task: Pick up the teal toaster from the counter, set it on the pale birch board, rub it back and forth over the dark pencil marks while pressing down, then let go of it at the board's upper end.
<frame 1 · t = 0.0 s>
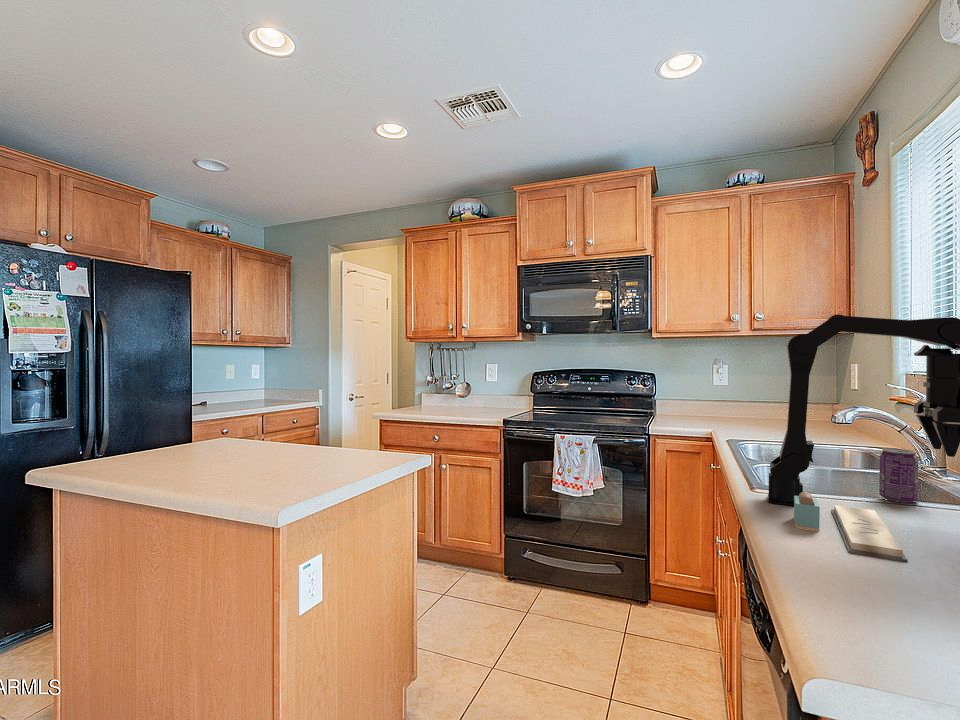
hand: (943, 452, 103), 15 cm above the countertop, tool pointing down, fingers open, 9 cm apart
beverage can: (898, 500, 119), on the countertop
teal toaster: (806, 525, 101), on the countertop
board: (863, 532, 97), on the countertop
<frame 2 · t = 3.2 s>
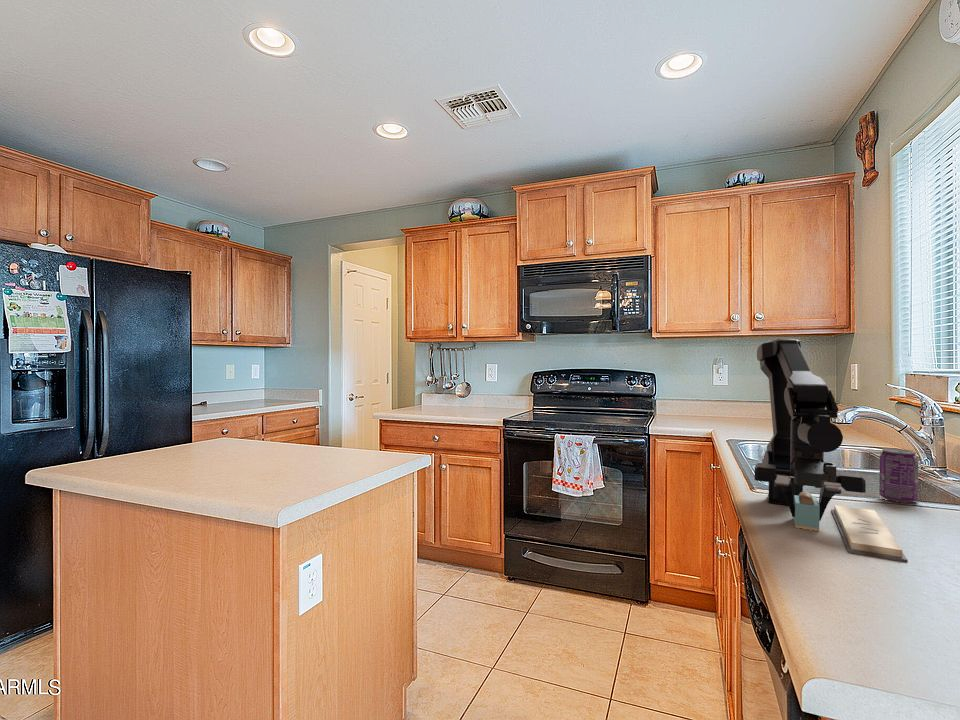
hand: (806, 518, 101), 1 cm above the countertop, tool pointing down, fingers closed on teal toaster, 4 cm apart
teal toaster: (806, 524, 101), on the countertop, touching gripper
everything else where it was.
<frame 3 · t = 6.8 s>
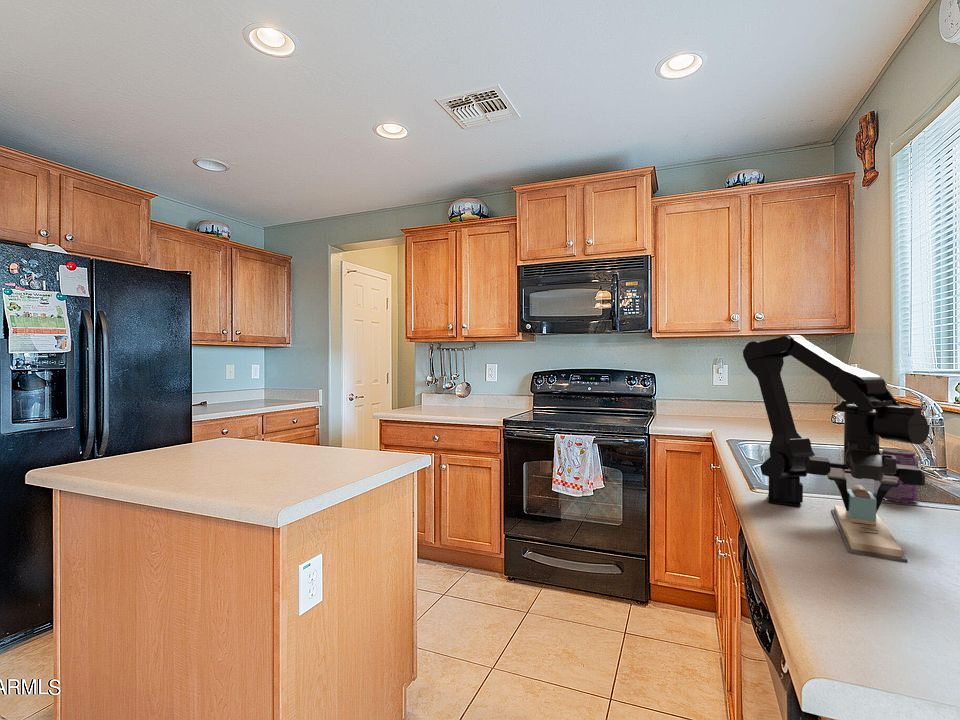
hand: (860, 512, 100), 3 cm above the countertop, tool pointing down, fingers closed on teal toaster, 4 cm apart
teal toaster: (860, 518, 100), point 2 cm above the countertop, touching gripper
everything else where it was.
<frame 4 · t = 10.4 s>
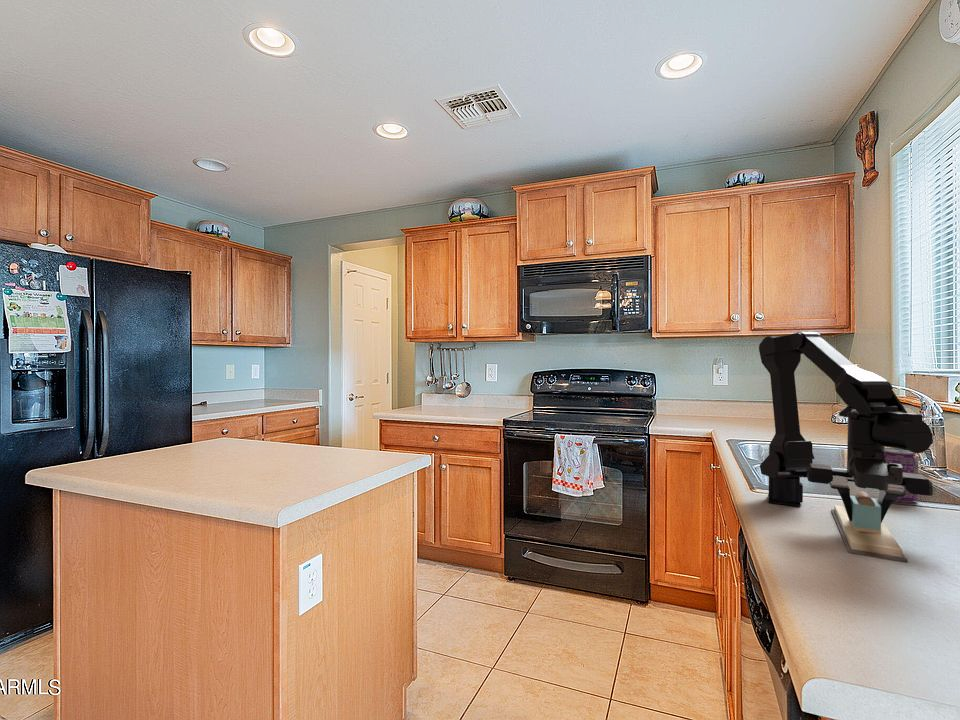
hand: (864, 522, 95), 2 cm above the countertop, tool pointing down, fingers closed on teal toaster, 4 cm apart
teal toaster: (864, 526, 95), point 2 cm above the countertop, touching gripper
everything else where it was.
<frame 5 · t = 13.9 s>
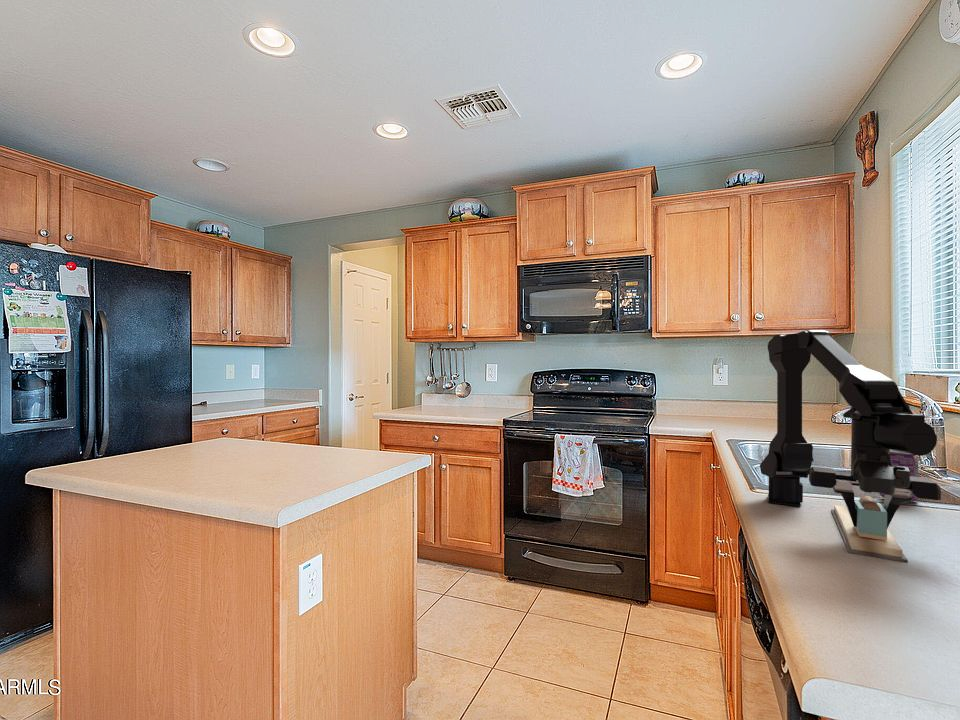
hand: (869, 528, 92), 3 cm above the countertop, tool pointing down, fingers closed on teal toaster, 4 cm apart
teal toaster: (869, 532, 92), point 2 cm above the countertop, touching gripper
everything else where it was.
when the fingers open (3 cm above the countertop, at t = 17.4 s): teal toaster stays where it is, resting on board.
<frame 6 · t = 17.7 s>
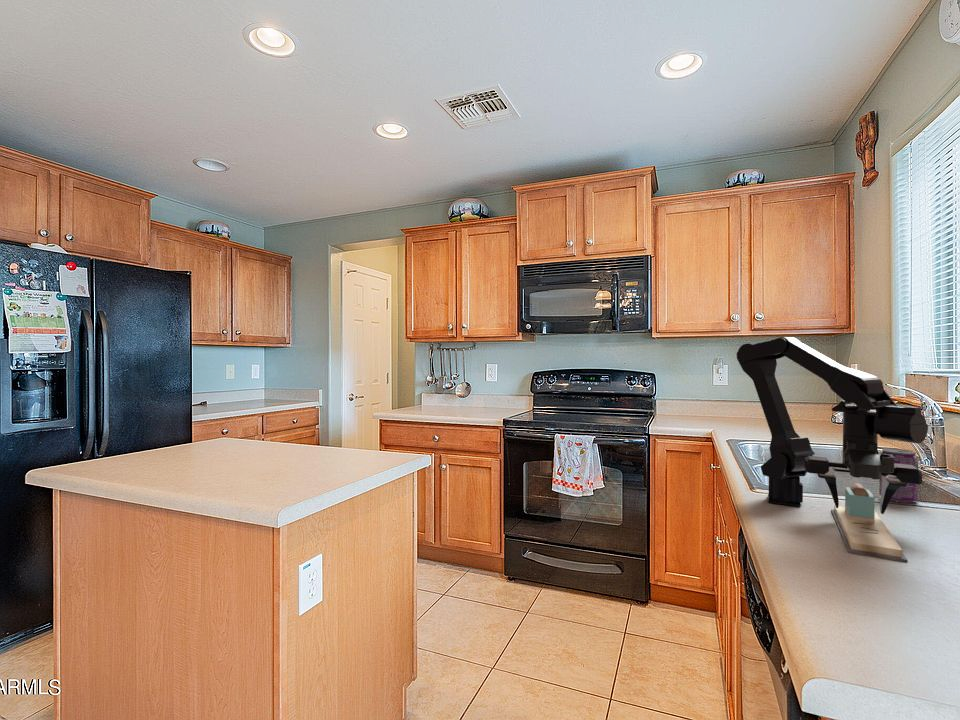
hand: (859, 510, 102), 3 cm above the countertop, tool pointing down, fingers open, 7 cm apart
teal toaster: (859, 516, 102), point 2 cm above the countertop, touching board
everything else where it was.
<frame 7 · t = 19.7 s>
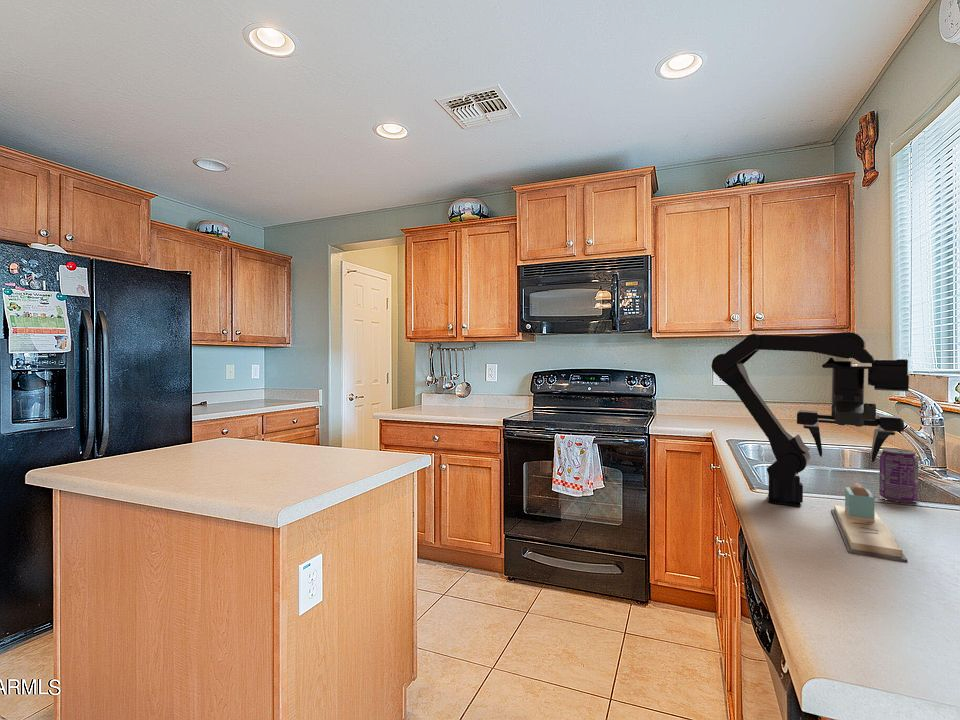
hand: (846, 459, 109), 12 cm above the countertop, tool pointing down, fingers open, 9 cm apart
nothing on the countertop moved.
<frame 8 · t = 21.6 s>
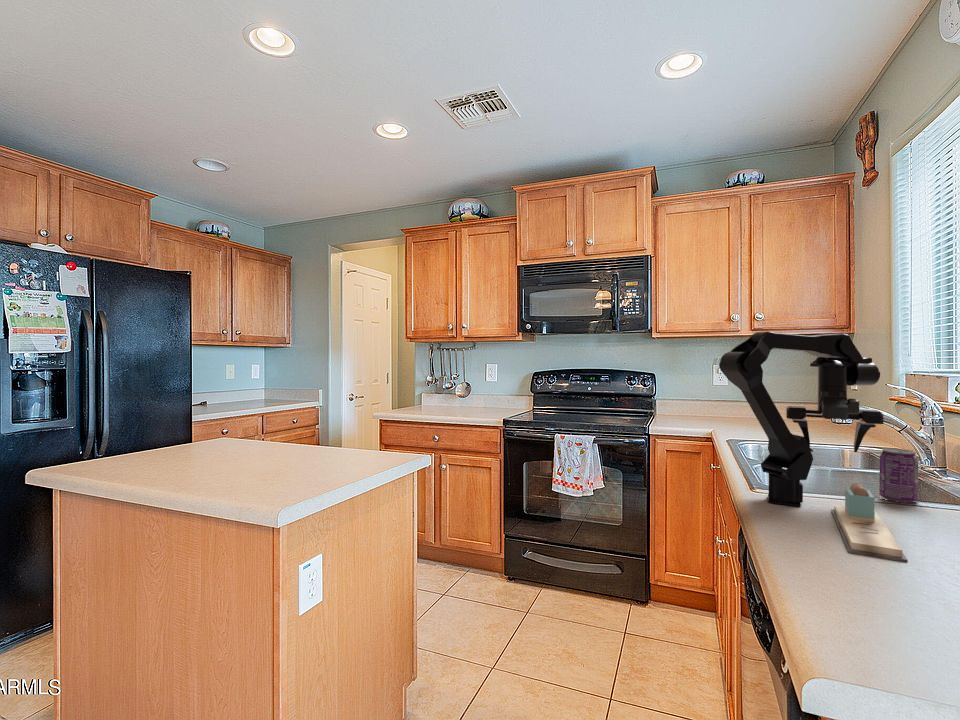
hand: (831, 450, 119), 12 cm above the countertop, tool pointing down, fingers open, 9 cm apart
nothing on the countertop moved.
at the end: teal toaster inside the target area on the board (0.0 cm from its centre), point 1.6 cm above the board's base; teal toaster tilted 0°; the gripper is holding nothing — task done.
